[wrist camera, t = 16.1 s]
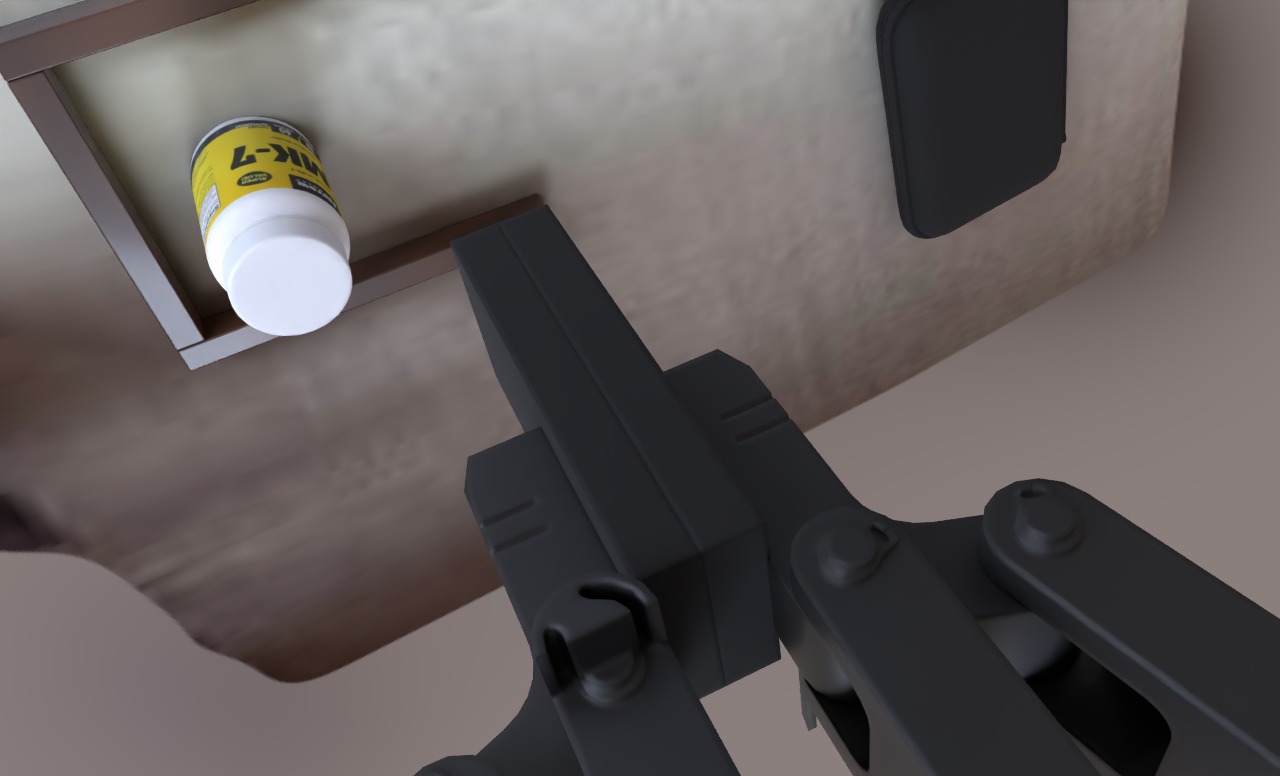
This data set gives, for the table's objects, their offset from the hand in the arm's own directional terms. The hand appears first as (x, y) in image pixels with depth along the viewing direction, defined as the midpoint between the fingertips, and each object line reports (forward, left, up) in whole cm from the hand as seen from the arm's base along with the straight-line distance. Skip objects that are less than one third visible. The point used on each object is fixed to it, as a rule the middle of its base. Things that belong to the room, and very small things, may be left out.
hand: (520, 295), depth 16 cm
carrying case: (-18, +29, -27) cm, 43 cm away
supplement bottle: (+9, +8, -27) cm, 29 cm away
